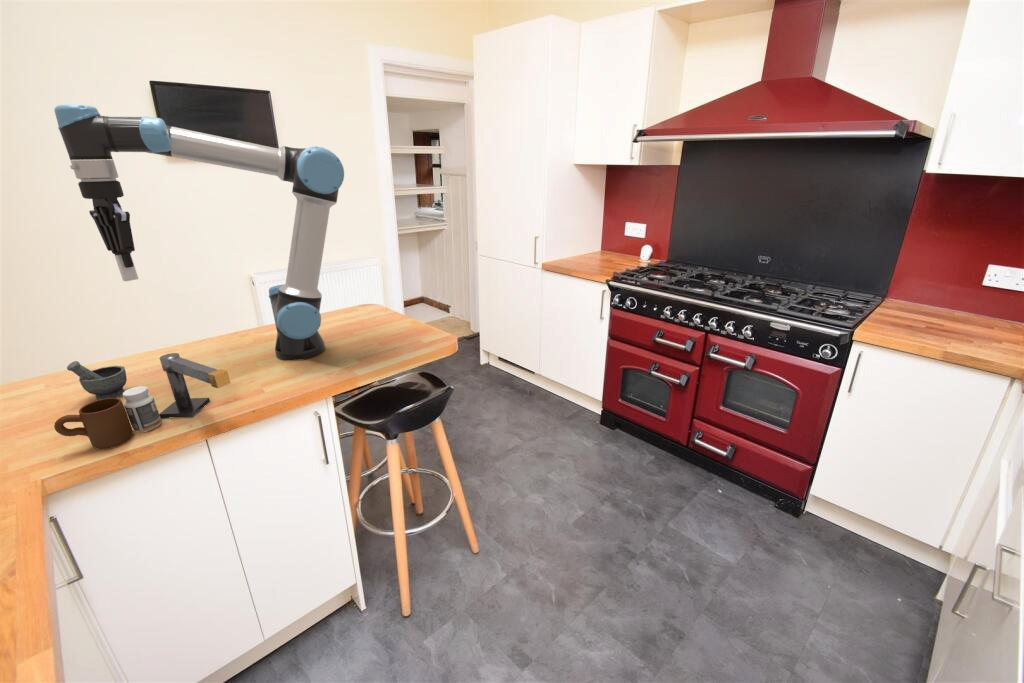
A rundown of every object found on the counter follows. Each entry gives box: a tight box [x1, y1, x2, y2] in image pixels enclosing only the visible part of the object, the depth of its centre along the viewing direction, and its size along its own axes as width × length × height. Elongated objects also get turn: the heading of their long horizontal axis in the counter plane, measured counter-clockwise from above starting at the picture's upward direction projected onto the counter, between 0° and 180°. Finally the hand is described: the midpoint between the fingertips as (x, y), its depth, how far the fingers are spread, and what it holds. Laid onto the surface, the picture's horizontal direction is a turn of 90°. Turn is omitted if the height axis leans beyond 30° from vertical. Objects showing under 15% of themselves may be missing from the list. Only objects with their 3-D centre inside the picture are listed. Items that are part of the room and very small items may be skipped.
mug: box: [53, 397, 134, 450], centre depth 104 cm, size 12×8×9 cm, turn 133°
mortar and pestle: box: [66, 360, 128, 401], centre depth 125 cm, size 11×9×12 cm
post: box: [159, 371, 211, 419], centre depth 118 cm, size 8×8×12 cm
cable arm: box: [159, 352, 232, 389], centre depth 111 cm, size 23×4×3 cm, turn 62°
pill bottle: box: [122, 385, 162, 433], centre depth 111 cm, size 6×6×10 cm
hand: (130, 279), depth 116 cm, fingers closed
